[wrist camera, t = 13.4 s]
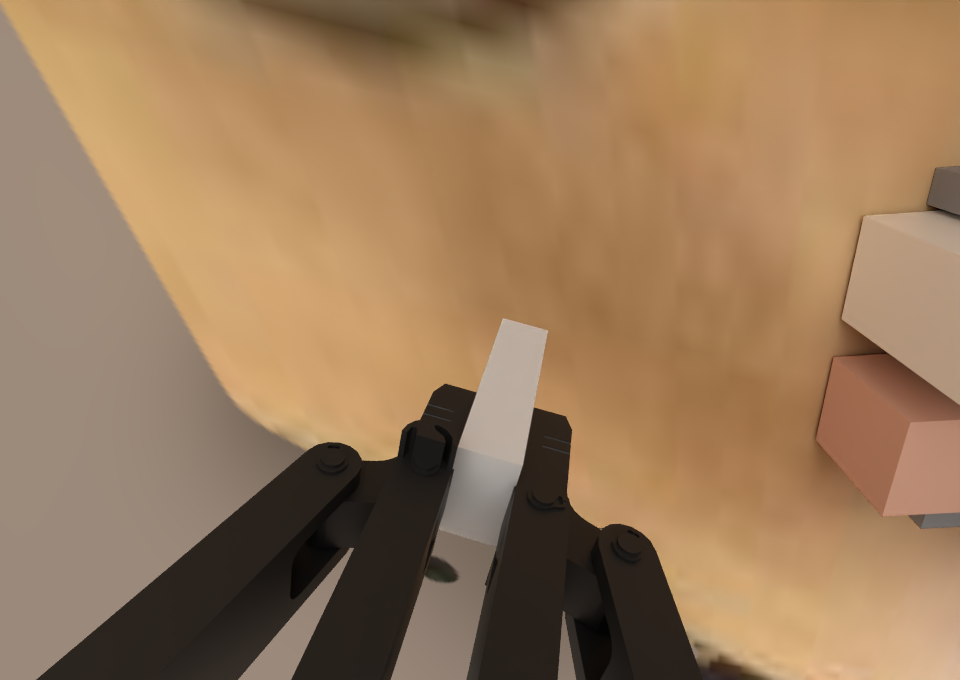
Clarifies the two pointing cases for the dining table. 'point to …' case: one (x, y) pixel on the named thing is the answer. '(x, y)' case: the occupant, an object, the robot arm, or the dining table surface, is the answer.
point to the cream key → (910, 292)
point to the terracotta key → (892, 435)
